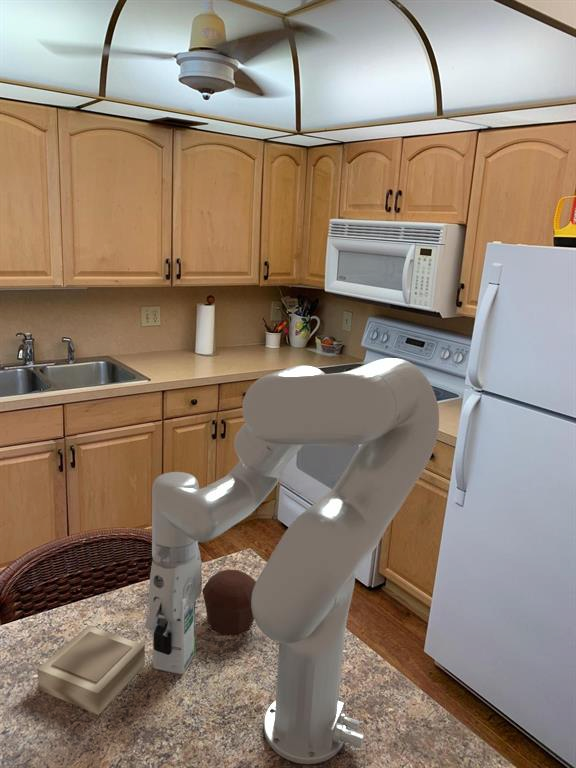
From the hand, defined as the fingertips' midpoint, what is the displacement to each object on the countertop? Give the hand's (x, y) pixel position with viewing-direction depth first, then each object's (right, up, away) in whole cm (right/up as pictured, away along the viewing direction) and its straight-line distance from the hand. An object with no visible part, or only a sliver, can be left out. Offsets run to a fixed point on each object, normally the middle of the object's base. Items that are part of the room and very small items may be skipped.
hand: (174, 638), depth 100 cm
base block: (-13, -5, -4) cm, 14 cm away
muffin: (+9, -3, +12) cm, 15 cm away
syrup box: (0, -5, +1) cm, 5 cm away
